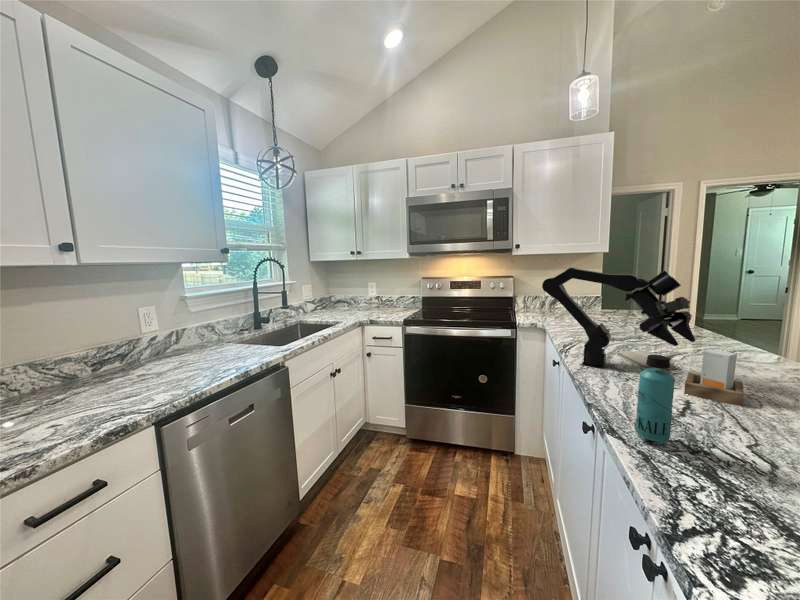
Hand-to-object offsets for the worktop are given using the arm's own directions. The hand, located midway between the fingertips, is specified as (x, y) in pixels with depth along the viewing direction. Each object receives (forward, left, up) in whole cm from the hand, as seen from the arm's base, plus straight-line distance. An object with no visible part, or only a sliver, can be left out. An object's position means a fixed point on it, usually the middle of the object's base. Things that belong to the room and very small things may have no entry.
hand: (685, 343), depth 101 cm
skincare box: (+8, -3, -13) cm, 15 cm away
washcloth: (-12, +19, -14) cm, 26 cm away
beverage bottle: (-2, -44, -14) cm, 46 cm away
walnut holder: (+7, -3, -13) cm, 16 cm away
